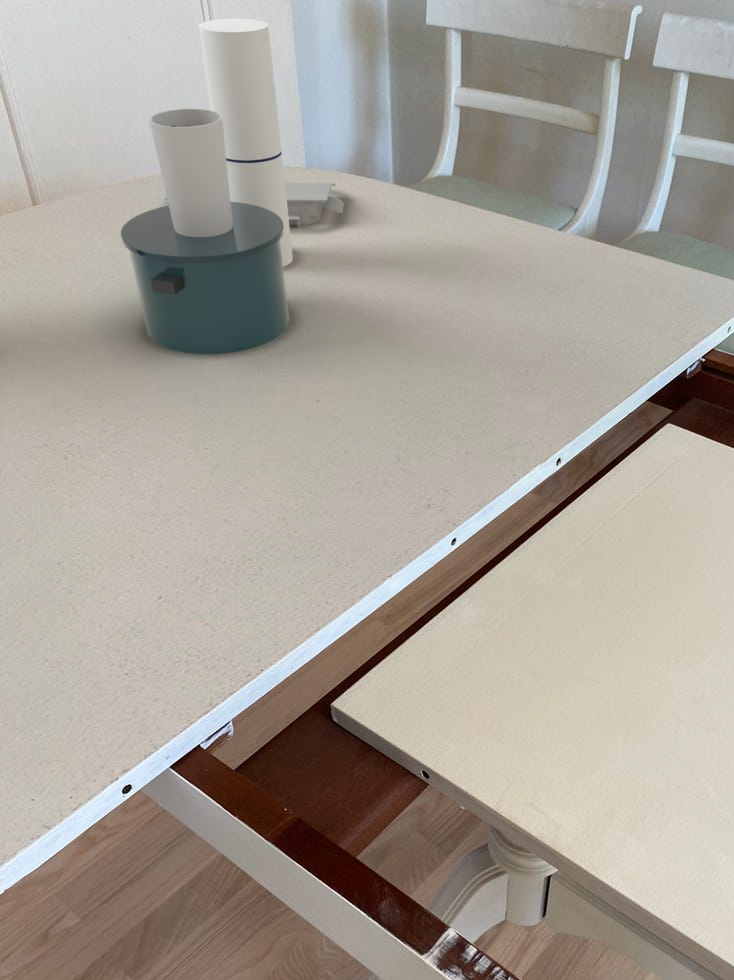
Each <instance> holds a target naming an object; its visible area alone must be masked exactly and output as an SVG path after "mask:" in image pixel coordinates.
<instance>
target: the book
mask: <svg viewBox="0 0 734 980" xmlns="http://www.w3.org/2000/svg"><path fill="white" fill-rule="evenodd" d="M335 186H336V183H334V182H332V183H331V182H285V189H286V198H287V207H288V217H289V226H298V229H299V230H300V229H301V226H302V225H313V224H315V223H318V222H320V221H321V216H322V212H323V209H325V210H329V211H333V212H337V213H339V214H343V213H344V212H343V211H344V207H345V202H344V201H343V200H342V199H340V198H338V197H334V196H329V195H330V192H331V190H332V188H333V187H335ZM164 200H165V201H168V200H167V195H165V197H164Z"/></svg>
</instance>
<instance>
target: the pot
mask: <svg viewBox="0 0 734 980" xmlns="http://www.w3.org/2000/svg"><path fill="white" fill-rule="evenodd" d="M231 211H232V221H233V226H232V229H231V230H229V231H228V232H226V233H224V234H221V235H217V236H211V237H189V236H183V235H181V234H178V233H177V232H176V231H175V230H174V226H173V221H172V217H171V213H170V208H169V205H163V206H160V207H156V208H153V209H150V210H147V211H144V212H142V213H140V214H138V215H136V216H134V217H132V218H131V219H129V220H128V221H126V222H125V224H123V226H122V227H121V229H120V238H121V242H122V244H123V246H125V248H126V249H127V250H128V251H129V254H130V259H131V264H132V268H133V273H134V279H135V281H136V282H135V283H136V287H137V291H138V296H139V301H140V305H141V310H142V315H143V319H144V324H145V328H146V332H147V335H148V337H149V338H150V339H151V340H152V341H153V342H154V343H156V345H157V344H158V345H159V346H161V347H163V348H166V349H169V350H172V351H175V352H181V353H187V354H195V355H219V354H228V353H236V352H241V351H246V350H250V349H253V348H256V347H260V346H263V345H265V344H268V343H269V342H271V341H273V340H275V339H276V338H278V337H280V336H281V335H282V334H283V333H284V332H285V331H286V330H287V328H288V326H289V325H290V324H289V323H290V314H289V306H288V297H287V289H286V288H287V287H286V281H285V280H286V279H285V272H284V270H285V269H284V267H283V261H282V252H281V243H280V239H281V237H282V236H283V233H284V226H283V221H282V220H281V218H280V217H279V216H278V215H277V214H275V213H274V212H272V211H270V210H268V209H265V208H262V207H259V206H255V205H250V204H245V203H238V202H231Z"/></svg>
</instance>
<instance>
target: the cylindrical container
mask: <svg viewBox="0 0 734 980" xmlns="http://www.w3.org/2000/svg"><path fill="white" fill-rule="evenodd" d="M198 31H199V38H200V44H201V45H200V46H201V53H202V58H203V64H204V65H203V67H204V71H205V72H204V73H205V78H206V86H207V92H208V99H209V106H210V110H211V111H214V112H218V113H219V114H220V115H221V116H222V121H223V131H224V141H225V151H226V161H227V171H228V181H229V191H230V201H231V202H238V203H245V204H250V205H255V206H259V207H262V208H265V209H268V210H270V211H272V212H274V213H275V214H277V215H278V216H279V217H280V218H281V220H282V221H283V226H284V233H283V236H282V237H281V239H280V243H281V252H282V261H283V268H284V267H286V266H288V265H290V264H291V263H292V262H293V259H294V258H293V257H294V256H293V248H292V247H293V246H292V238H291V229H290V227H291V226H290V225H289V217H288V207H287V198H286V189H285V183H286V181H285V172H284V171H285V170H284V163H283V162H284V161H283V153H282V143H281V134H280V124H279V115H278V105H277V95H276V85H275V75H274V68H273V57H272V50H271V39H270V31H269V24H268V23H267V22H266V21H263V20H258V19H253V18H252V19H251V18H219V19H212V20H206V21H203V22H200V23H199V24H198Z"/></svg>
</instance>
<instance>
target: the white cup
mask: <svg viewBox="0 0 734 980" xmlns="http://www.w3.org/2000/svg"><path fill="white" fill-rule="evenodd" d="M148 121H149V126H150V129H151V135H152V138H153V142H154V147H155V151H156V156H157V161H158V164H159V169H160V172H161V178H162V182H163V185H164V190H165V196H167V200H166V201H167V204H168V206H169V208H170V213H171V217H172V221H173V226H174V230H175V231H176V232H177V233H178V234H181V235H183V236H189V237H211V236H217V235H221V234H224V233H226V232H228V231H229V230H231V229H232V226H233V221H232V211H231V201H230V191H229V181H228V171H227V161H226V151H225V141H224V131H223V121H222V116H221V115H220V114H219V113H218V112H214V111H211V109H206V108H205V109H203V108H177V109H167V110H163V111H159V112H157V113H155V114H152V115H151V116H150V118H148Z"/></svg>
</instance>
